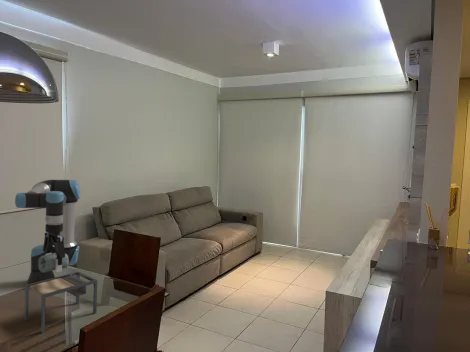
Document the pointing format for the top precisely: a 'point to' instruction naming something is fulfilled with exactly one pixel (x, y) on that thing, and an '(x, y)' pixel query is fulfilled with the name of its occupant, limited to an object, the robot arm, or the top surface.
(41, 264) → the grey streaked egg shape
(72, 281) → the trapdoor
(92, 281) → the stand
